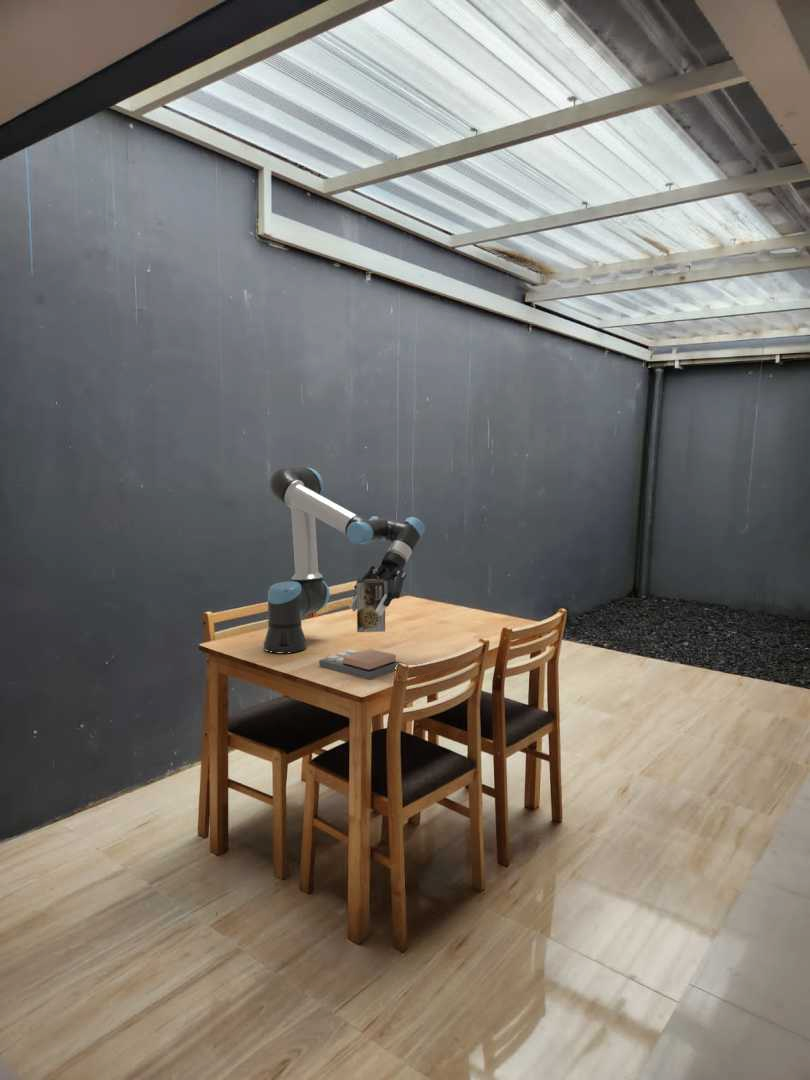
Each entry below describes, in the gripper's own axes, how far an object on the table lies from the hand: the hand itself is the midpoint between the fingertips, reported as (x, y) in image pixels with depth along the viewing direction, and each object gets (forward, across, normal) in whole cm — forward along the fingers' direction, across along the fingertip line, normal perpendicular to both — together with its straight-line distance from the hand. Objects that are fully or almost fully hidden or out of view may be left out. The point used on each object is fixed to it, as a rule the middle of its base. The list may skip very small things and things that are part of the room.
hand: (364, 611), depth 219 cm
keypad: (+12, +5, -16) cm, 20 cm away
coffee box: (+3, 0, -7) cm, 7 cm away
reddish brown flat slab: (+10, +1, -14) cm, 17 cm away
